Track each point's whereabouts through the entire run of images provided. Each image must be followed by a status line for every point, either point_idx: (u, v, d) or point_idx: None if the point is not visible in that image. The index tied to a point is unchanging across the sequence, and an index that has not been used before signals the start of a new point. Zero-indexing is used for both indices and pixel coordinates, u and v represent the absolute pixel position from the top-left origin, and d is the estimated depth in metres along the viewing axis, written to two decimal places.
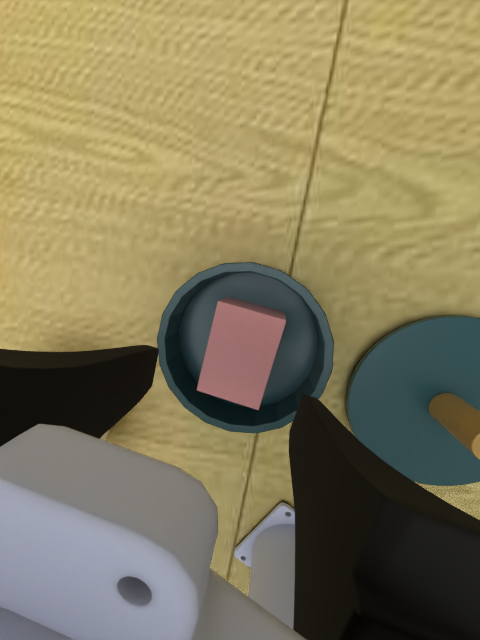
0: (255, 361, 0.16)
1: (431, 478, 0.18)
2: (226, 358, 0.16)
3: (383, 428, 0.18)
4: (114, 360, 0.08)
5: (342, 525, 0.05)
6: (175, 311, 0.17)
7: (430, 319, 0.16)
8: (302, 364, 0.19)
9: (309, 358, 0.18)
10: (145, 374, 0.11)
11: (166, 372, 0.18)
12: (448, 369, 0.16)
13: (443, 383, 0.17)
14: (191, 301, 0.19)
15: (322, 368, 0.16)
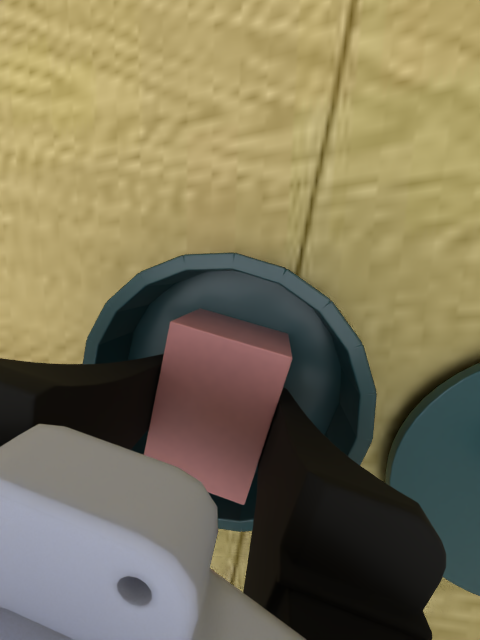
0: (237, 426, 0.09)
1: None
2: (188, 419, 0.09)
3: (446, 520, 0.11)
4: (147, 371, 0.08)
5: (280, 503, 0.05)
6: (109, 335, 0.10)
7: None
8: (315, 414, 0.12)
9: (327, 406, 0.12)
10: None
11: None
12: None
13: None
14: (144, 316, 0.12)
15: (355, 436, 0.09)
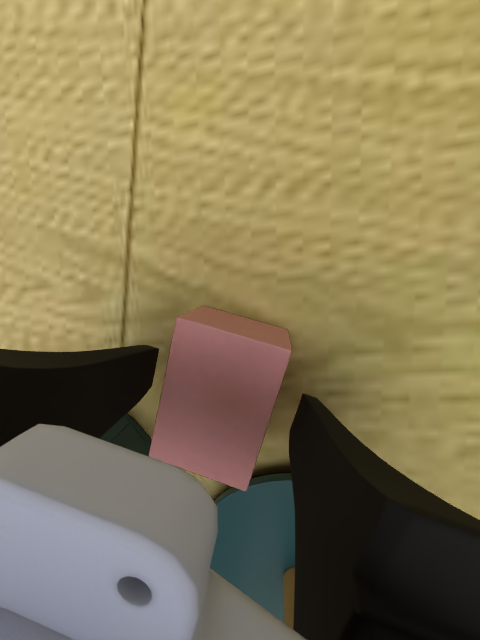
0: (239, 416, 0.09)
1: None
2: (193, 410, 0.10)
3: None
4: (114, 360, 0.08)
5: (342, 525, 0.05)
6: None
7: (274, 480, 0.12)
8: None
9: None
10: (145, 374, 0.11)
11: None
12: None
13: None
14: None
15: None
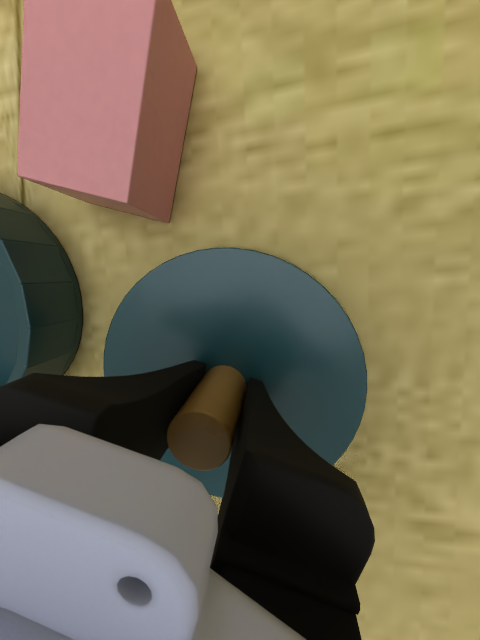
0: (109, 88, 0.08)
1: (224, 488, 0.13)
2: (58, 92, 0.08)
3: None
4: (179, 381, 0.08)
5: (231, 485, 0.05)
6: None
7: (185, 254, 0.11)
8: None
9: None
10: None
11: None
12: (219, 329, 0.11)
13: (216, 351, 0.11)
14: None
15: (19, 326, 0.11)
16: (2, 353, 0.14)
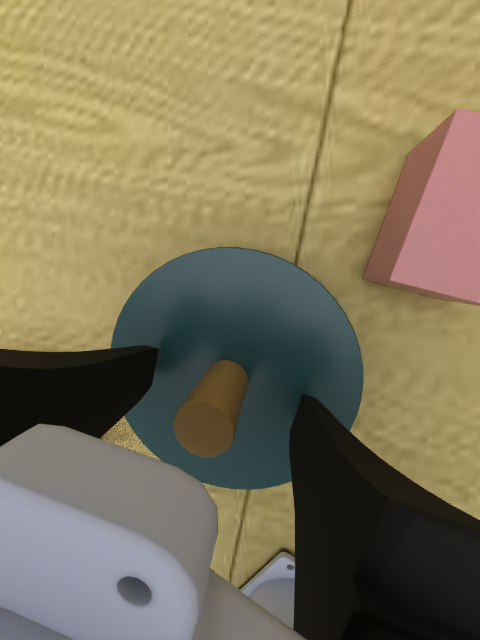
0: None
1: (226, 479, 0.13)
2: (456, 218, 0.09)
3: (158, 411, 0.13)
4: (114, 360, 0.08)
5: (342, 525, 0.05)
6: None
7: (189, 253, 0.11)
8: None
9: None
10: (145, 374, 0.11)
11: None
12: (222, 326, 0.12)
13: (219, 346, 0.12)
14: None
15: None
16: None
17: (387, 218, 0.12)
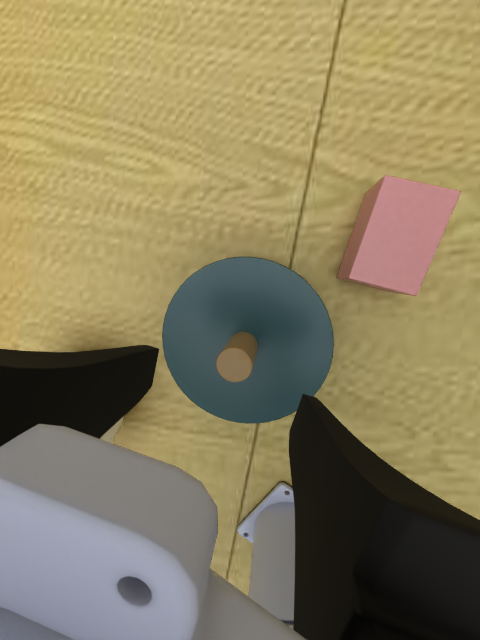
0: (419, 240, 0.15)
1: (242, 416, 0.19)
2: (387, 239, 0.15)
3: (195, 369, 0.19)
4: (114, 360, 0.08)
5: (342, 525, 0.05)
6: None
7: None
8: None
9: None
10: (145, 374, 0.11)
11: None
12: (240, 308, 0.18)
13: (238, 322, 0.18)
14: None
15: None
16: None
17: (352, 236, 0.18)
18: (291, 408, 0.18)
